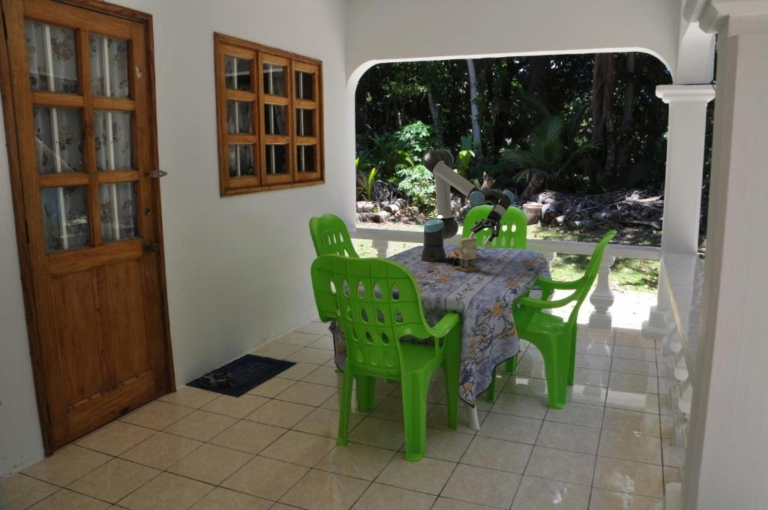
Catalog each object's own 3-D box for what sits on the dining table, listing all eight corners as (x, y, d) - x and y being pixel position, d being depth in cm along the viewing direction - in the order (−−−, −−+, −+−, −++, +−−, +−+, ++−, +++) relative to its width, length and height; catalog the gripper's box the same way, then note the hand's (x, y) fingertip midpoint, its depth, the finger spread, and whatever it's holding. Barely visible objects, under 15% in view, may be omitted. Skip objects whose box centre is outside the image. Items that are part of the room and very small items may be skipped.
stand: (454, 269, 348) (454, 258, 347) (468, 266, 355) (469, 255, 353) (466, 272, 341) (466, 261, 340) (480, 269, 348) (480, 258, 346)
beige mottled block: (459, 258, 346) (459, 239, 344) (469, 256, 351) (470, 237, 349) (465, 260, 342) (466, 240, 340) (476, 258, 347) (476, 238, 345)
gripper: (516, 221, 346) (496, 251, 340) (483, 216, 366) (464, 244, 360) (509, 212, 342) (489, 243, 336) (477, 207, 361) (458, 236, 356)
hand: (476, 243), depth 348 cm, fingers open, 13 cm apart
